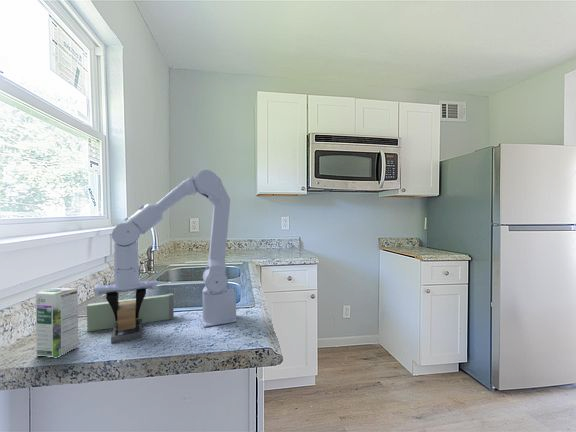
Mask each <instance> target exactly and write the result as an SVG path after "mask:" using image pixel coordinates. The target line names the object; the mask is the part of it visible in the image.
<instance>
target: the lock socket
mask: <svg viewBox="0 0 576 432" xmlns="http://www.w3.org/2000/svg"><path fill="white" fill-rule="evenodd" d="M137 326H138V331H135V332H129V333H123V334H117V332H118V322H117V323H115V325H114V328H112V333H111V335H110V344H114V343H120V341H121V342H126V340H127V341H131V339H133V340H136V339H137V338H138V339H142V333H143V323H142V319H137V320H136V327H137Z"/></svg>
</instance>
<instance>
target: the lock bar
mask: <svg viewBox="0 0 576 432" xmlns="http://www.w3.org/2000/svg"><path fill="white" fill-rule="evenodd" d="M117 321H118V329H117V332H119V331H125V330H132V329H136V327H137V326H136V301H129V302H121V303H120V304H119V307H118V311H117Z"/></svg>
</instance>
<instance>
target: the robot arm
mask: <svg viewBox="0 0 576 432" xmlns="http://www.w3.org/2000/svg"><path fill="white" fill-rule="evenodd" d="M197 193H198V194H200V195H201V196H204V197H205V198H206V199H207V200H208V201H209V202H210V203H211V205H212V206H213V207H212V209H213V210H212V217H211V228H210V239H209V249H208V258H207V261H206V267H205V269H204V271H203V272H202V280H203V283H204V285H205V286H204V287H203V289H202V292H201V293H202V294H201V295H202V315H201V316H200V317H199V321H200V322H201V325H202V326H203V327H204V328H206V327H213V326H219V325H224V324H229V323H236V322H237V321H238V319H237V297H236V296H237V295H236V291H235V290H234V289H233V288H228V287H227V286H228V282H229V279H228V276H227V272H226V271H227V270H226V269H227V267H226V266H227V265H226V251H227V238H228V229H229V217H230V208H231V207H230V206H231V198H230V196H229V195H228V192H227V190H226V188H225V186H224V185H223V181H222V179H221V178H220V177H219V176H218V175H217V174H216V173H215V172H213V171H212V170H209V169H202V170H200V171H198V172H197V173H196V175H192V176H191V177H188V178H187V179H185V180H183V181H182V182H181V183H179V184H178V185H177V186H175V188H173V189H172V190H171V191H170V192H168V193H167V194H166V195H164V196H163V197H162V198H161V199H160V200H159V201H157V202H156V203H155V204H154V203H146V204H145V205H143V204H141V205H140V206H139V207H138V209H139V210H137V211H136V212H135V213H133V214H132V215H130V216H129V217H125V218H124V219H123V221H124V222H122V223H121V222H120V223H119V224H116V226H115V227H114V228H113V230H112V232H111V238H112V240H113V242H114V251H113V266H114V267H113V269H114V270H113V271H114V275H113V276H114V283H113V284H107V285H100V286H99V285H98V286H94V289H93V292H94V297H95V296H96V297H97V296H100V295H106V296H105V299H106V302H109V304H110V306H111V308H112V310H113V312H114V315H115V320H116V321H117V311H118V300H119V295H120V294H119V293H125V292H126V293H127V292H135V298H136V318H139V310H140V307H141V304H142V301H143V299H144V297H146V295H147V290H157V289H158V288H157V282H158V281H157V280H149V281H148V280H147V281H146V280H143V281H142V280H141V281H139V280H140V279H139V278H140V275H139V274H140V273H139V272H140V271H139V269H140V268H139V249H138V240H139V238H140V235H144V234H146V233H147V232H149V231H150V230H151V229H152V228H153V227H155V226H156V225H157V224H158V223H160V222H161V221H162V220H163V215H164V213H165V212H166V211H167V210H168V209H170V208H171V207H173V206H174V205H175V204H176V203H178V202H179V201H181V200H182V199H183V198H185V197H186V196H192V195H193V196H194V195H196V194H197Z"/></svg>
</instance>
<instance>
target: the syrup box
mask: <svg viewBox="0 0 576 432" xmlns="http://www.w3.org/2000/svg"><path fill="white" fill-rule="evenodd" d="M78 297H79V296H78V288H77V287H76V288H75V287H74V288H70V287H69V288H67V287H66V288H65V287H53V288H49V289H48V288H47V289H45V290H41V291H39V292H36V293H35V321H36V322H35V324H36V325H35V330H36V331H35V333H36V334H35V336H36V338H35V340H36V341H35V343H36V350H35V356H36V355H41V356H53V357H58V356H60V355H62V354H64V353H66V352H68V353H70V352H72V351H74V350H75V349H78V347H79V315H78V313H79V312H78V311H79V308H78V307H79V306H78V305H79V301H78V299H79V298H78ZM73 349H74V350H73ZM71 350H72V351H71ZM69 351H70V352H69ZM66 354H67V353H66ZM64 355H65V354H64Z"/></svg>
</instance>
